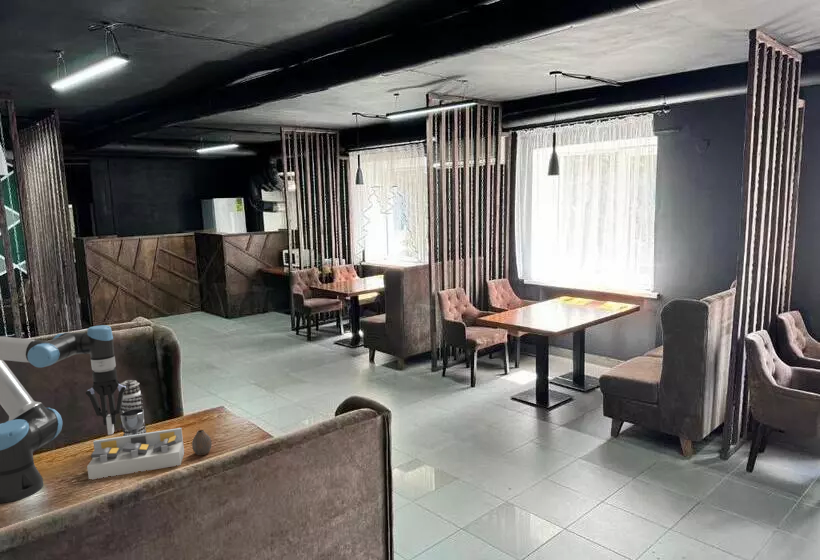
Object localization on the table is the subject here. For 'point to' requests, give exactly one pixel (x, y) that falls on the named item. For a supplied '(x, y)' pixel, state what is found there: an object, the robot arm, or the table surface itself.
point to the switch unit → (136, 454)
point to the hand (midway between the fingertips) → (111, 433)
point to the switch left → (105, 452)
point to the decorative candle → (132, 401)
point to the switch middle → (136, 447)
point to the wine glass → (132, 420)
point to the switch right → (165, 443)
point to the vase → (201, 443)
